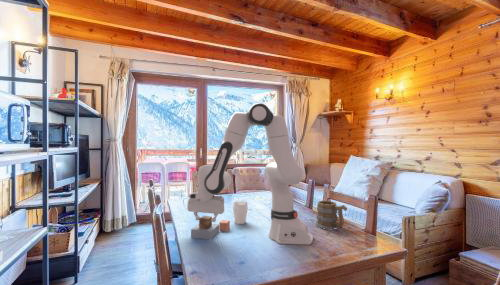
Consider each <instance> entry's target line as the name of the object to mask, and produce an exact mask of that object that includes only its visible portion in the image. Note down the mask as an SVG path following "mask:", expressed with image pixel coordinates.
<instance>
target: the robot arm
mask: <svg viewBox="0 0 500 285" xmlns="http://www.w3.org/2000/svg"><path fill="white" fill-rule="evenodd" d="M252 126H258V127H260V126H262V127H264V128H265V131H266V138H267V145H268V151H269V153H270V155H271V156H272V158H273V160H274V161H271V162H269V163H267V164H266V166H265V167H264V174H265V177H266V178H267V180H268V183H269V186H270V191H271V209H270V210H271V211H270V218H271V220H270V222H271V225H270V229H269V234H268V238H270V239H271V240H272V241H275V242H276V243H277V244H279V245H280V244H282V245H284V244H285V245H307V246H308V245H311V244H312V243H313V242H314V236H313V235H312V233H310V232H309V228H308V226H307V224H306V223H305V222H304V221H302V220H301V219H300V218H299V217H298V216H299V215H298V211H297V210H295V209H294V194H293V192H292V191H291V189H290V186H289V185H298V184H299V183H301V182H302V180H303V179H304V170H303V168H302V167H301V166H300V165H299V164H298V162H297V160H296V158H295V157H294V154H293V153H292V148H291V144H290V137H289V131H288V127H287V123H286V119H285V118H284V116H283V115H281V114H273V112H272V111H271V109H270V108H269V107H268V106H267V105H266V104H264V103H263V102H257V103H253V104H252V105H251V106H250V107H249V109H248V111H247V112H242V111H235V112H234V113H233V114H232V115H231V117H230V119H229V120H228V123H227V126H226V129H225V132H224V135H223V138H222V142H221V144H220V147H219V150H218V151H217V154H216V157H215V160H214V162H213V164H205V165H200V166H199V168H198V171H197V183H198V185H197V186H198V187H197V191H194V192H191V193H190V194H188V200H187V208H186V209H187V211H188V212H193V215H194V217H195V221H199V218H201V217H200V215H199V213H203V214H204V213H205V214H213V216H214V217H212V223H216V222H217V217H218V216H219V215H222V214H223V213H225V198H224V197H223V195H217V194H220V193H221V192H222V191H224V190H226V189H227V188H229V187H230V186H231V185H232V183H233V178H232V175H231V173H230V172H228V171H226V170H227V167H228V164H229V161H230V159H231V158H232V156H233V155H234V154H235V153H237V152H238V151H239V150H240V149H241V148H243V145H244V144H245V141H246V138H247V135H248V131H249V129H250V128H251V127H252Z"/></svg>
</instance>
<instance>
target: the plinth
mask: <svg viewBox="0 0 500 285" xmlns="http://www.w3.org/2000/svg"><path fill="white" fill-rule="evenodd" d="M219 232H220V230H219V223H218V224H216V223H212V226H211V227H210V228H208V229H203V228H199V223H198V224H197V225H195V226H194V227H192V228H191V229H190V238H195V239H196V238H197V239H204V240H212V239H213V238H214V237H215V236H216V235H217V234H218V233H219Z"/></svg>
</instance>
